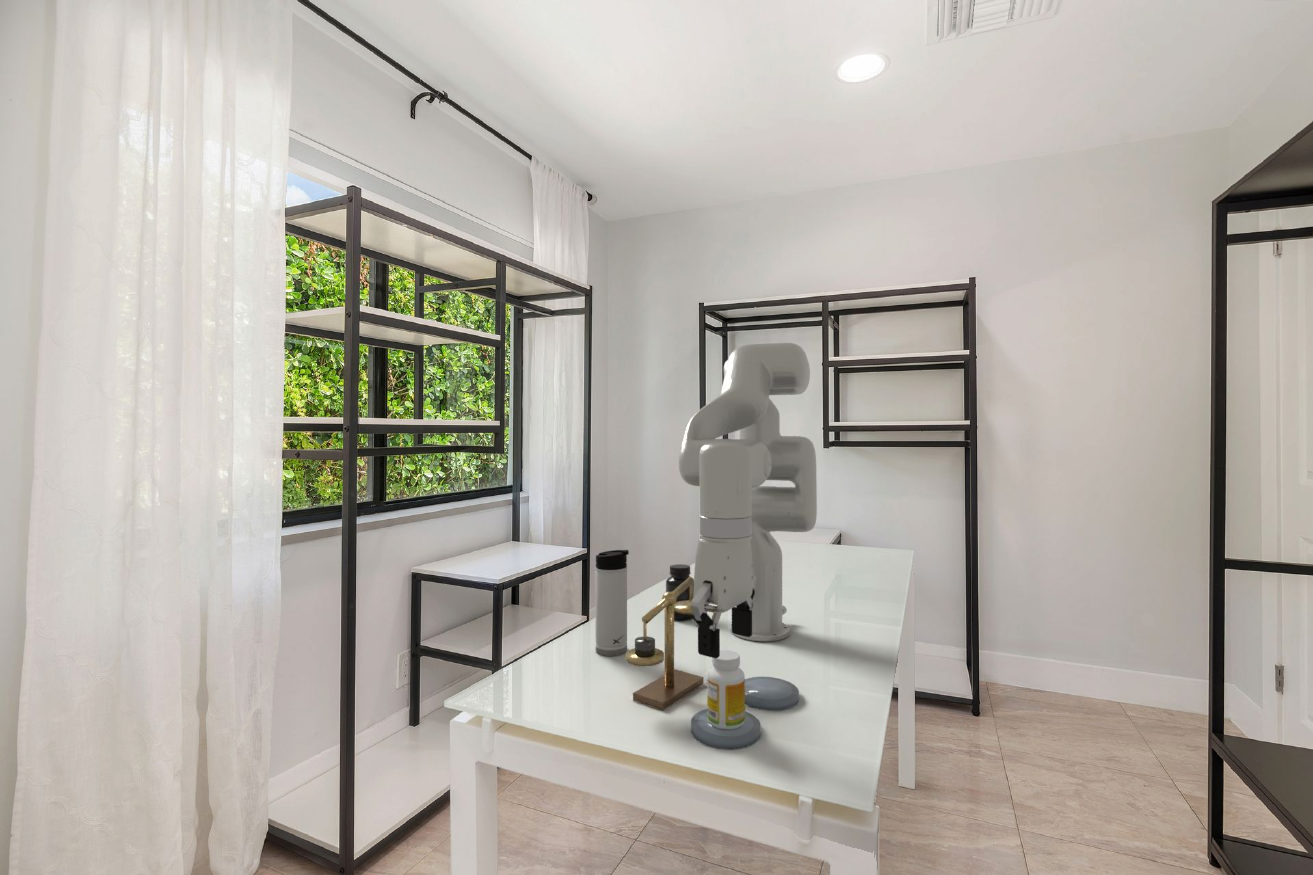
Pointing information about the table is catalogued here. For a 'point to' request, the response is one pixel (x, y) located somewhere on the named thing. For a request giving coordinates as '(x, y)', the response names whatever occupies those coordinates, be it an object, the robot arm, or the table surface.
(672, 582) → the supplement bottle
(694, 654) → the table surface
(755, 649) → the table surface
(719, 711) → the supplement bottle
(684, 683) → the balance
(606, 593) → the travel mug
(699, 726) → the dish low side
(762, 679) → the dish high side
